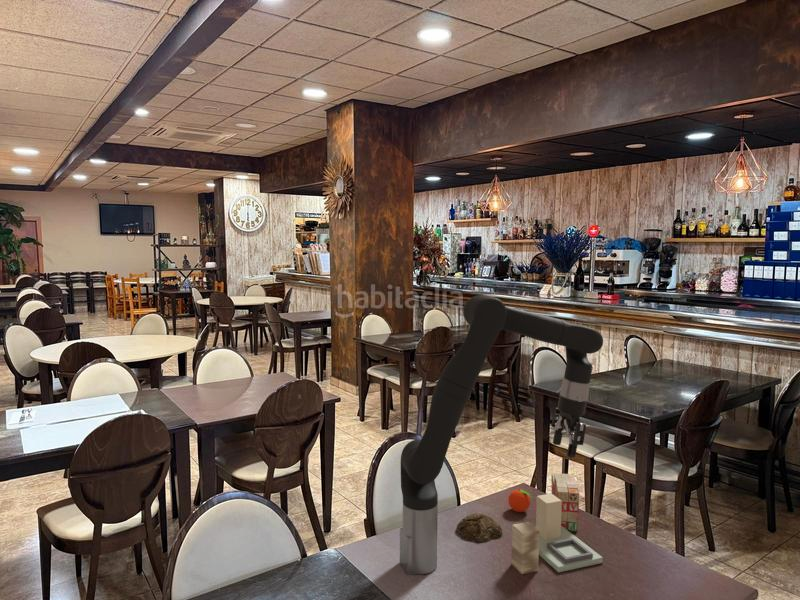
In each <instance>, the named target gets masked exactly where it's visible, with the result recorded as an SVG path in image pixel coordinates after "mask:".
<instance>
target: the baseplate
mask: <svg viewBox="0 0 800 600" xmlns="http://www.w3.org/2000/svg"><path fill="white" fill-rule="evenodd" d="M561 508H562V501H561V500H560V499H559V498H557V497H556V496H554V495H553V494H552V493H548V494H547V493H546V494H540V495H536V509H535V511H536V514H535V527H536V528H537V529H538V530H539V556H540V557H541V558H542V559H543V560H544V561H545V562H546V563H547V564H549V565H550V566H551V567H552V569H554V570H555V571H556V572H557V573H562V572H567V571H572V570H577V569H580V568H585V567H589V566H594V565H599V564H602V563H603V562H604V561H603V556H602V555H600V554H599V553H598V552H596V550H594V549H592V548H591V547H590V546H589V545H587V544H586V543H585V542H583V541H582V540H581V539H579V538H578V537H577V536H576V535H575V534H573V533H572V532H571V531H568V530H566V529H565V528H564V527H563V526H561Z"/></svg>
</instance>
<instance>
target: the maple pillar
mask: <svg viewBox="0 0 800 600" xmlns="http://www.w3.org/2000/svg"><path fill="white" fill-rule="evenodd" d="M511 536H512V539H511V565H512V566H513V568H515V569H516V570H517V571H518V573H520V574H521V575H524V574H530V573H533V572H538V571H539V559H540V558H539V556H540V555H539V530H538V529H537V528H536V525H533V524H532V523H531V522H530V521H526V522H520V523H515V524H512V533H511Z"/></svg>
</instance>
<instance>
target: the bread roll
mask: <svg viewBox="0 0 800 600" xmlns="http://www.w3.org/2000/svg"><path fill="white" fill-rule="evenodd" d="M456 532H458V533H459V534H460V535H461V537H462V539H463V540H465V541H469V542H479V543H484V542H490V541H492V540H496V539H497V540H498V539H500V538H501V537H502V535H503V529H502V527H501V525H500V524H499V523H498V522H497V521H495V520H494V519H493V518H492V517H491V516H489V515H487V514H485V513H479V512H477V513H476V512H475V513H471V514H469V515H467V516H465V517H464V518H461V520H460V521H459V522H458V524H457V526H456Z"/></svg>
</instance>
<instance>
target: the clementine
mask: <svg viewBox="0 0 800 600" xmlns="http://www.w3.org/2000/svg"><path fill="white" fill-rule="evenodd" d="M531 500H532V501H534V499H533V497H532V496H531V495H530V493H528V492H527V491H525V490H523V489H520V488H519V489H514V490H512V491H511V492H510V494H509V496H508V498H507V501H508V505H509V507H510V508H511V510H512V511H515V512H517V513H524V512H526V511H527V510H528V509H529V507H530V506H531Z"/></svg>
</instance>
